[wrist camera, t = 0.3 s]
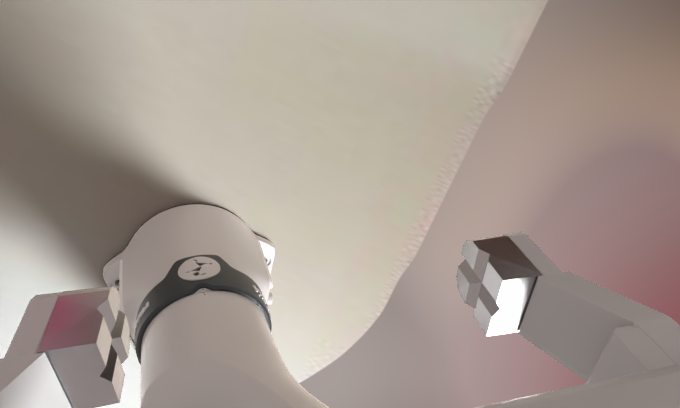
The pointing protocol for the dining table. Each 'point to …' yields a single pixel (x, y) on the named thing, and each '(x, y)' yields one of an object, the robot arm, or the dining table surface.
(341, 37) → the dining table surface
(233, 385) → the robot arm
